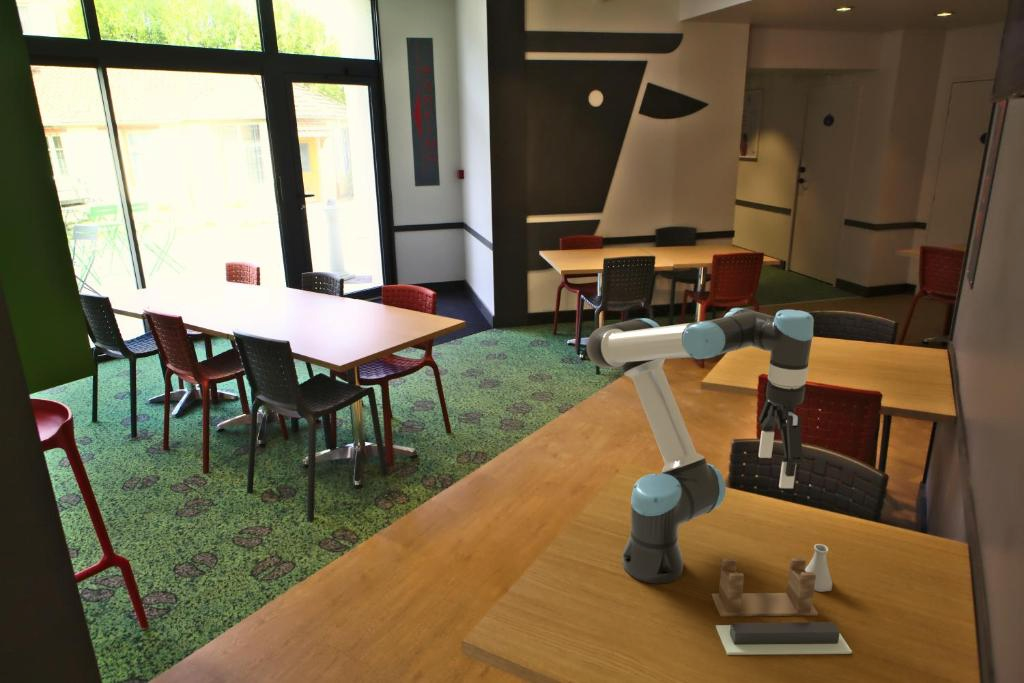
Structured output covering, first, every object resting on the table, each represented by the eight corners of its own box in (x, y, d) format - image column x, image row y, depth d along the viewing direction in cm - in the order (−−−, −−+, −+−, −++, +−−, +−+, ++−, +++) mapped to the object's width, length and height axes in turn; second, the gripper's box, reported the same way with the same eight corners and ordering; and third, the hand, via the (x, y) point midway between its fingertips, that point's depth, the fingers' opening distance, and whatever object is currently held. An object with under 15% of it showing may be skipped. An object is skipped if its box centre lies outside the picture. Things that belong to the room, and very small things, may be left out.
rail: (734, 644, 138) (735, 633, 137) (729, 634, 141) (730, 623, 140) (837, 643, 138) (839, 632, 137) (831, 633, 140) (833, 622, 140)
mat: (727, 654, 136) (727, 652, 136) (716, 627, 144) (716, 625, 143) (851, 653, 136) (851, 651, 135) (833, 626, 143) (833, 624, 143)
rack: (720, 616, 147) (724, 577, 144) (711, 595, 154) (715, 557, 151) (817, 615, 147) (823, 576, 144) (804, 594, 153) (809, 556, 150)
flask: (836, 594, 153) (841, 558, 150) (803, 590, 155) (808, 555, 152) (828, 575, 160) (833, 540, 157) (797, 572, 162) (801, 537, 159)
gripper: (829, 406, 126) (814, 501, 132) (783, 363, 149) (772, 446, 156) (790, 406, 126) (777, 501, 133) (750, 363, 150) (741, 445, 156)
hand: (774, 471), depth 144 cm, fingers open, 13 cm apart
